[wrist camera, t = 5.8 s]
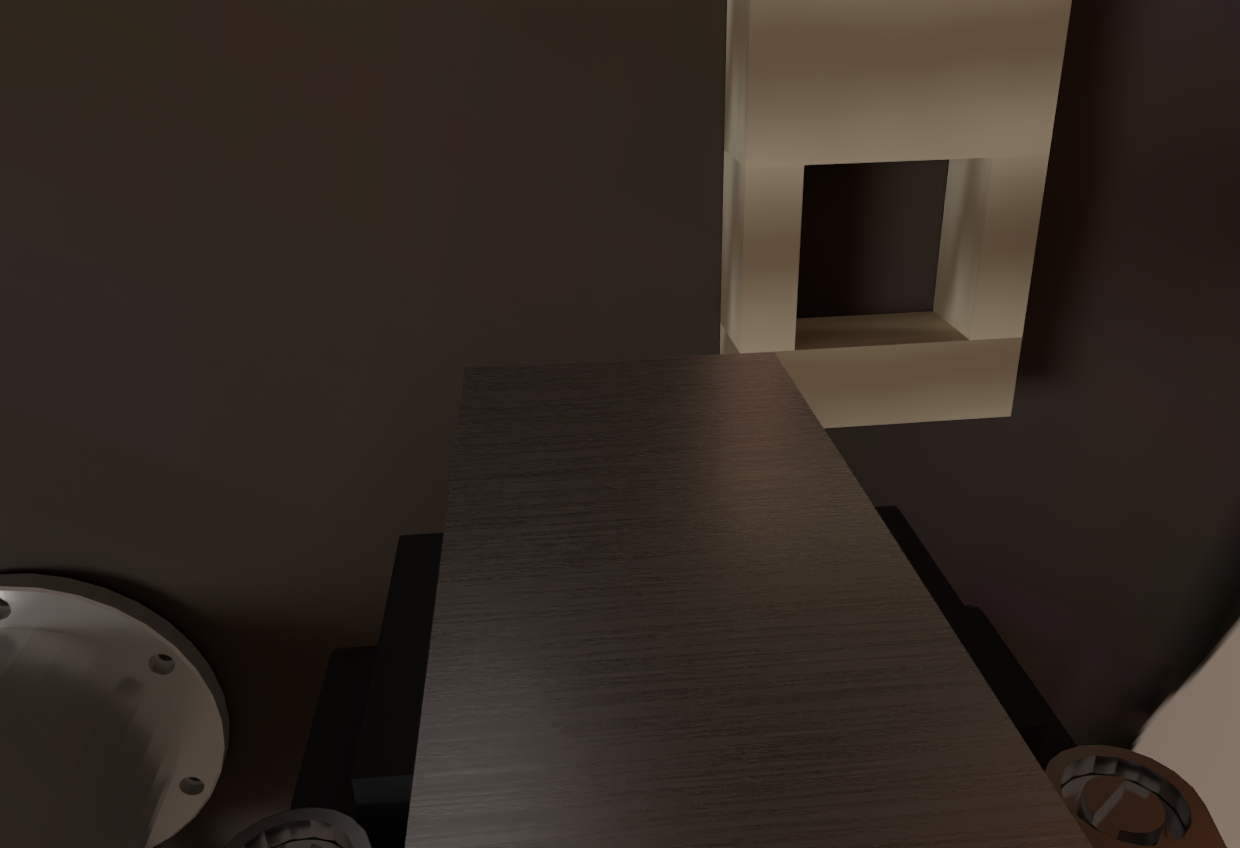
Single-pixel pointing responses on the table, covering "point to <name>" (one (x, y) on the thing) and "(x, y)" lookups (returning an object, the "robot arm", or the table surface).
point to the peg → (693, 634)
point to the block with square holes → (886, 132)
